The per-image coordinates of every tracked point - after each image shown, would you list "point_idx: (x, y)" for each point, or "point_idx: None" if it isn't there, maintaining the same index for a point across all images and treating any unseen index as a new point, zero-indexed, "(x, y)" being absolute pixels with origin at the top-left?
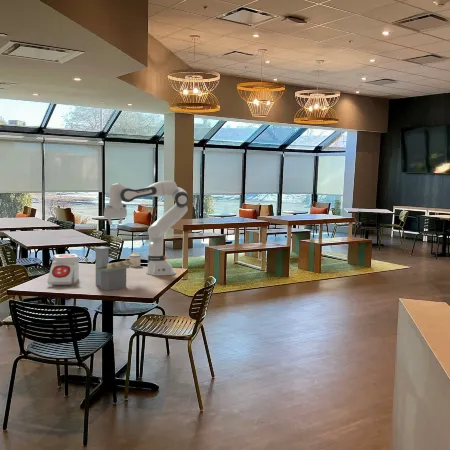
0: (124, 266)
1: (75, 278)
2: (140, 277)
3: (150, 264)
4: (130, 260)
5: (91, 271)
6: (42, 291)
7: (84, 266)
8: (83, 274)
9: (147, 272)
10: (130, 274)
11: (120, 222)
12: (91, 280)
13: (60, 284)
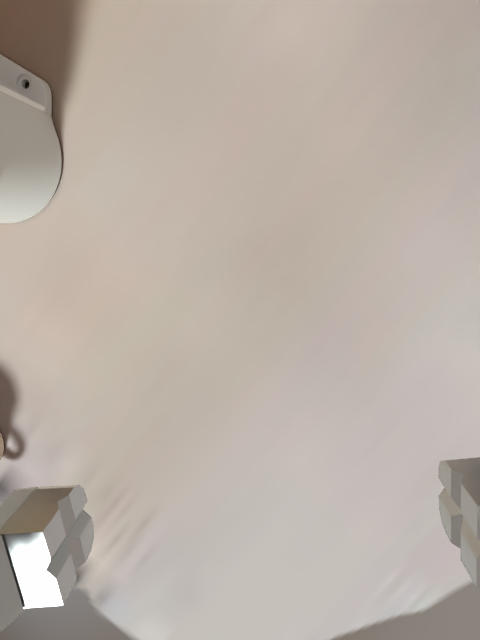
0: None
1: None
2: (166, 109)
3: (7, 136)
4: None
5: (279, 480)
6: None
7: (216, 612)
8: (372, 441)
9: (53, 171)
10: (155, 244)
11: (48, 504)
12: (466, 259)
13: None
